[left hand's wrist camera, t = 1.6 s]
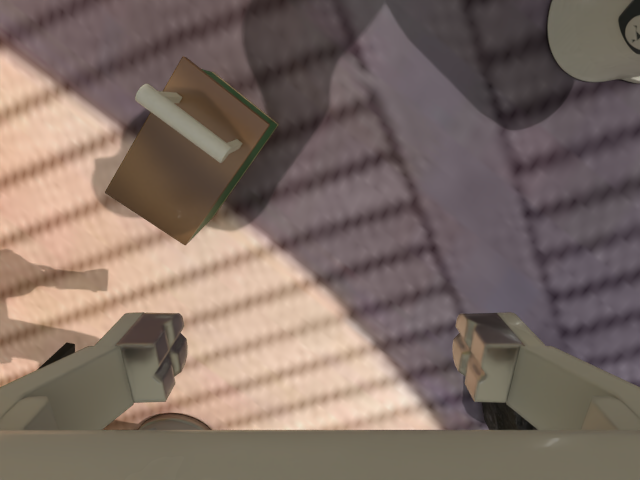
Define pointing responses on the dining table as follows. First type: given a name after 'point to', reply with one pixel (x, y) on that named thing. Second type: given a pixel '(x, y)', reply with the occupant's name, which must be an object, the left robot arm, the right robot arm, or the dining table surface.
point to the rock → (504, 417)
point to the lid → (185, 151)
